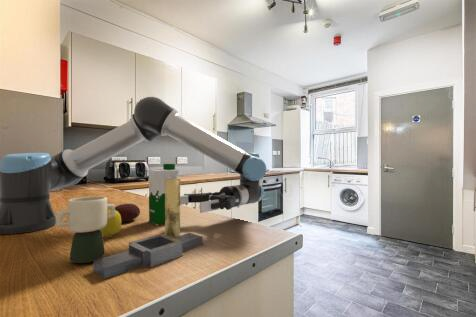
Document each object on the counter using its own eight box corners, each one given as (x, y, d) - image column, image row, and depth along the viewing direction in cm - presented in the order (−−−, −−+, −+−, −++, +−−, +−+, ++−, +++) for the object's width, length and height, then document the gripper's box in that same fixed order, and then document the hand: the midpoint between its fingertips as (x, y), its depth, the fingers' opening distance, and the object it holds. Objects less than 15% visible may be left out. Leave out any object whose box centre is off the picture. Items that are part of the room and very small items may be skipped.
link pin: (161, 237, 65) (162, 179, 65) (174, 234, 68) (174, 178, 68) (170, 240, 62) (170, 180, 62) (182, 237, 65) (183, 179, 65)
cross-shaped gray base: (89, 268, 46) (89, 252, 46) (184, 238, 64) (184, 227, 64) (108, 283, 40) (109, 265, 40) (207, 246, 58) (207, 234, 58)
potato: (105, 223, 80) (106, 204, 80) (133, 217, 88) (133, 200, 88) (118, 226, 76) (118, 207, 76) (145, 219, 85) (145, 202, 85)
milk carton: (180, 221, 82) (181, 164, 82) (155, 226, 76) (155, 164, 76) (169, 217, 88) (170, 163, 89) (145, 221, 82) (145, 163, 83)
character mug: (107, 248, 56) (108, 194, 57) (121, 256, 52) (122, 197, 52) (50, 263, 48) (51, 199, 48) (60, 274, 43) (61, 203, 44)
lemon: (111, 241, 62) (112, 210, 62) (93, 239, 63) (93, 209, 63) (125, 235, 67) (126, 206, 67) (108, 233, 68) (109, 205, 68)
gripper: (262, 211, 76) (215, 225, 59) (208, 202, 92) (159, 211, 75) (262, 188, 76) (216, 195, 59) (208, 183, 92) (160, 188, 75)
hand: (184, 204), depth 67 cm, fingers open, 13 cm apart
